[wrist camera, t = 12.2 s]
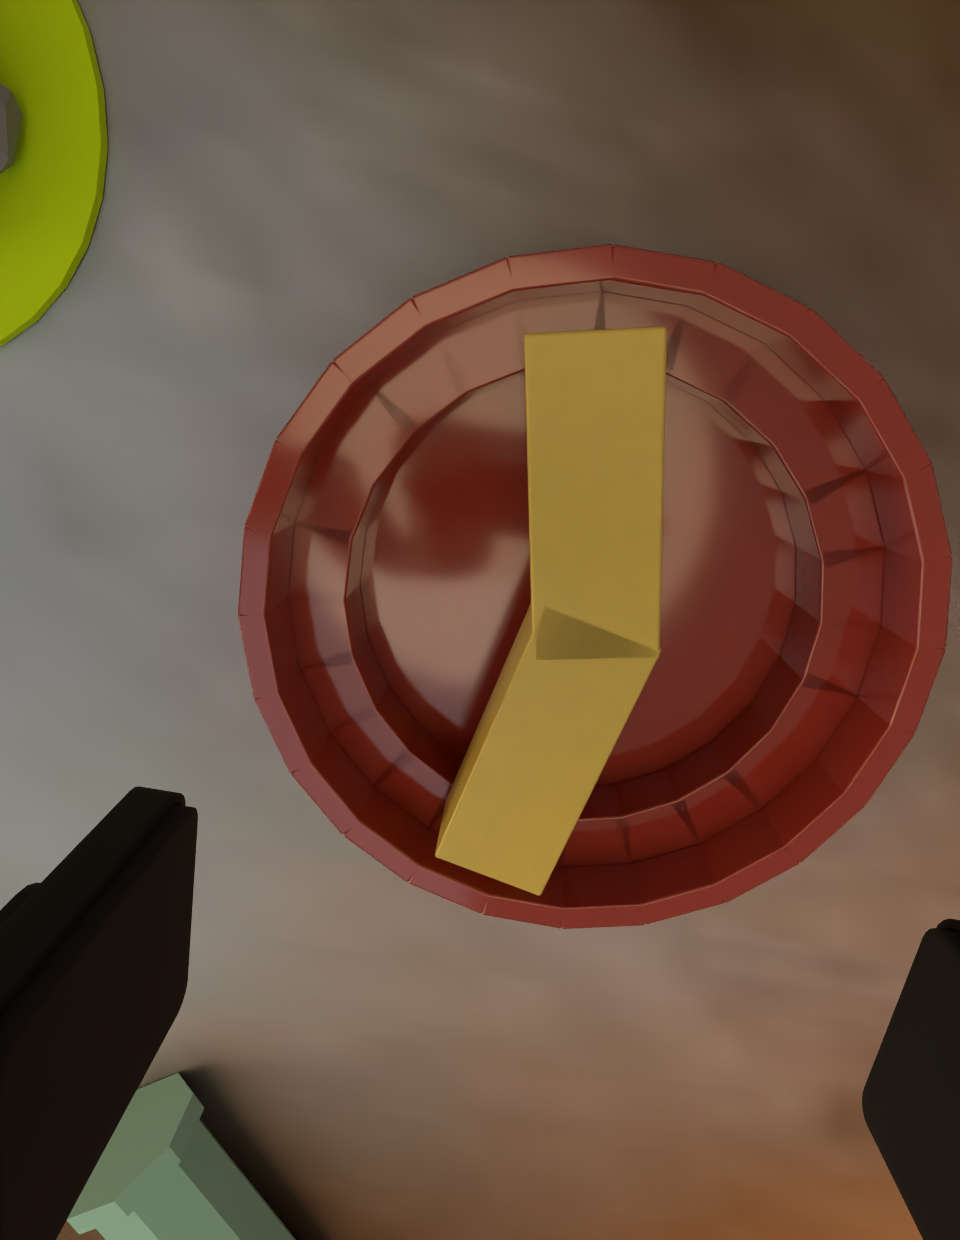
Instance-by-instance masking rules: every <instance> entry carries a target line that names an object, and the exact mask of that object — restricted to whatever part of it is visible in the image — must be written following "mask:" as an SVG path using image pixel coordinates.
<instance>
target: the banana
mask: <svg viewBox="0 0 960 1240" xmlns="http://www.w3.org/2000/svg"><path fill="white" fill-rule="evenodd" d="M666 350H667V329H666V327H663V326H659V327H640V328H620V329H601V330H582V331H562V332H543V333H528V334H526V335H525V337H524V352H525V390H526V428H527V466H528V504H529V542H530V580H531V604H530V606H529V608H528V611H527V613H526V615H525V618H524V620H523V622H522V625H521V627H520V629H519V632H518V634H517V636H516V638H515V641H514V643H513V645H512V648H511V650H510V652H509V655H508V657H507V659H506V662H505V664H504V666H503V669H502V671H501V673H500V676H499V678H498V680H497V683H496V685H495V687H494V690H493V692H492V694H491V697H490V699H489V701H488V704H487V706H486V708H485V711H484V713H483V715H482V718H481V720H480V722H479V725H478V727H477V729H476V732H475V734H474V736H473V738H472V741H471V743H470V745H469V748H468V750H467V752H466V755H465V757H464V759H463V762H462V764H461V766H460V769H459V771H458V773H457V776H456V778H455V780H454V783H453V785H452V787H451V790H450V792H449V794H448V797H447V799H446V801H445V806H444V811H443V816H442V821H441V826H440V832H439V837H438V842H437V847H436V852H435V856H436V857H437V858H440V859H443V860H445V861H448V862H451V863H453V864H456V865H459V866H461V867H464V868H467V869H469V870H472V871H475V872H477V873H480V874H483V875H485V876H488V877H491V878H493V879H496V880H499V881H501V882H504V883H507V884H509V885H512V886H515V887H517V888H520V889H523V890H525V891H528V892H531V893H533V894H536V895H539V896H540V895H541V894H542V892H543V890H544V888H545V886H546V884H547V882H548V880H549V877H550V875H551V873H552V871H553V869H554V867H555V865H556V863H557V861H558V859H559V857H560V855H561V853H562V851H563V849H564V847H565V845H566V843H567V841H568V839H569V837H570V835H571V833H572V831H573V829H574V827H575V825H576V823H577V821H578V819H579V817H580V815H581V813H582V811H583V809H584V807H585V805H586V803H587V801H588V799H589V796H590V794H591V792H592V790H593V788H594V786H595V784H596V782H597V780H598V778H599V776H600V774H601V772H602V770H603V768H604V766H605V764H606V762H607V760H608V758H609V756H610V754H611V752H612V750H613V748H614V746H615V744H616V742H617V740H618V738H619V736H620V734H621V732H622V730H623V728H624V726H625V724H626V722H627V720H628V718H629V715H630V713H631V711H632V709H633V707H634V705H635V703H636V701H637V699H638V697H639V695H640V693H641V691H642V689H643V687H644V685H645V683H646V681H647V679H648V677H649V675H650V673H651V671H652V669H653V667H654V665H655V663H656V661H657V659H658V658H659V656H660V653H661V648H660V614H661V570H662V526H663V482H664V438H665V394H666Z"/></svg>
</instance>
